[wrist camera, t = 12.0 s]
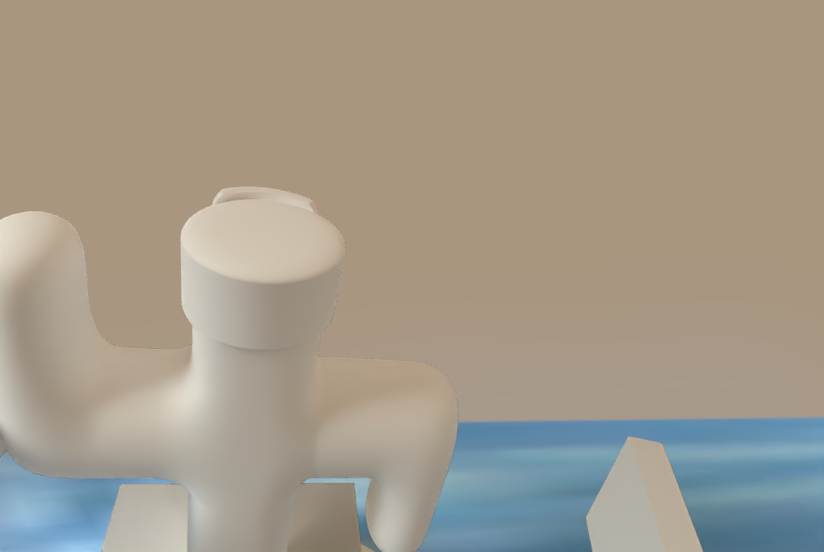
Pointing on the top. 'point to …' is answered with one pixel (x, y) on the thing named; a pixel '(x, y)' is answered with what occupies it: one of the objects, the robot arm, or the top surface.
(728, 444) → the top surface
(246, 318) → the figurine
